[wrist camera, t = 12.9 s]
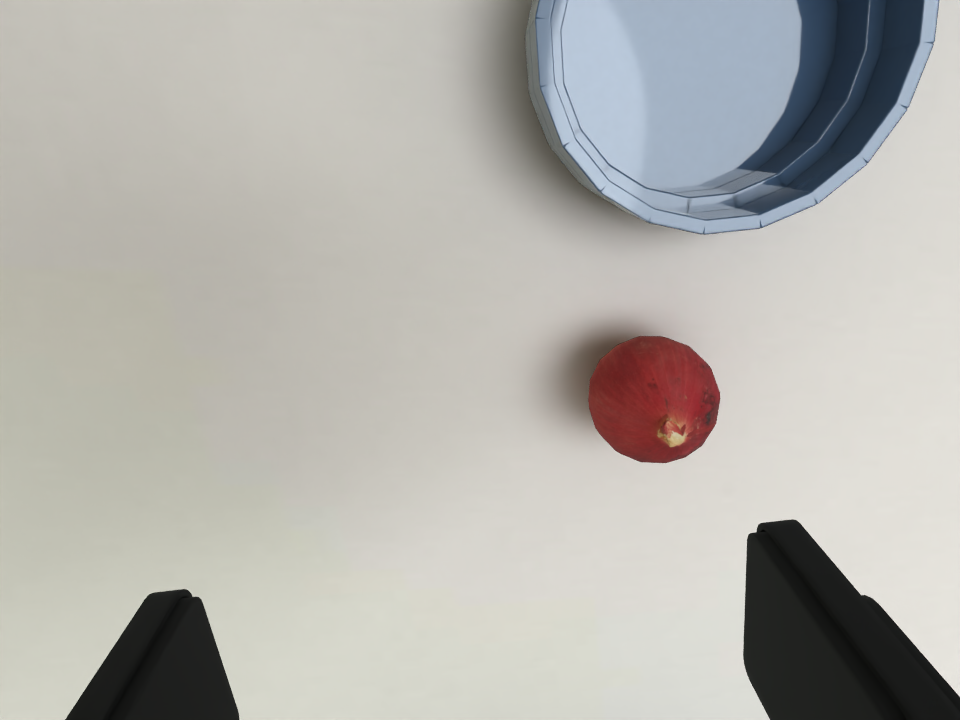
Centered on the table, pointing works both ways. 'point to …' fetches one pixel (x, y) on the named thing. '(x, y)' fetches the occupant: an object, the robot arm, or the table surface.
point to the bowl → (722, 99)
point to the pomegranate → (653, 399)
